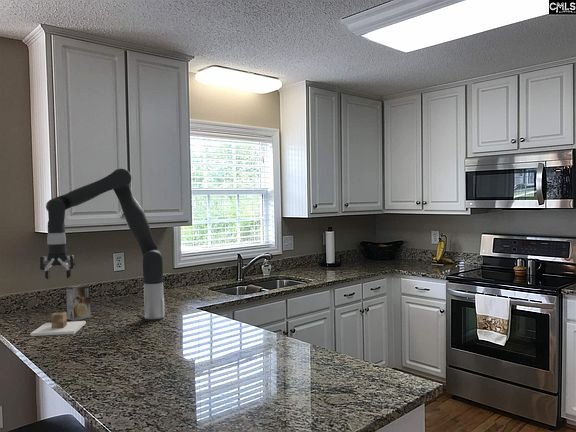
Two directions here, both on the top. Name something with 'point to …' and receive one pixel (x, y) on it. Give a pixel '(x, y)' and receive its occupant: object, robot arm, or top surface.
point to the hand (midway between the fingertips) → (58, 278)
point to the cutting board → (58, 329)
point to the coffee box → (78, 302)
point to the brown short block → (59, 320)
